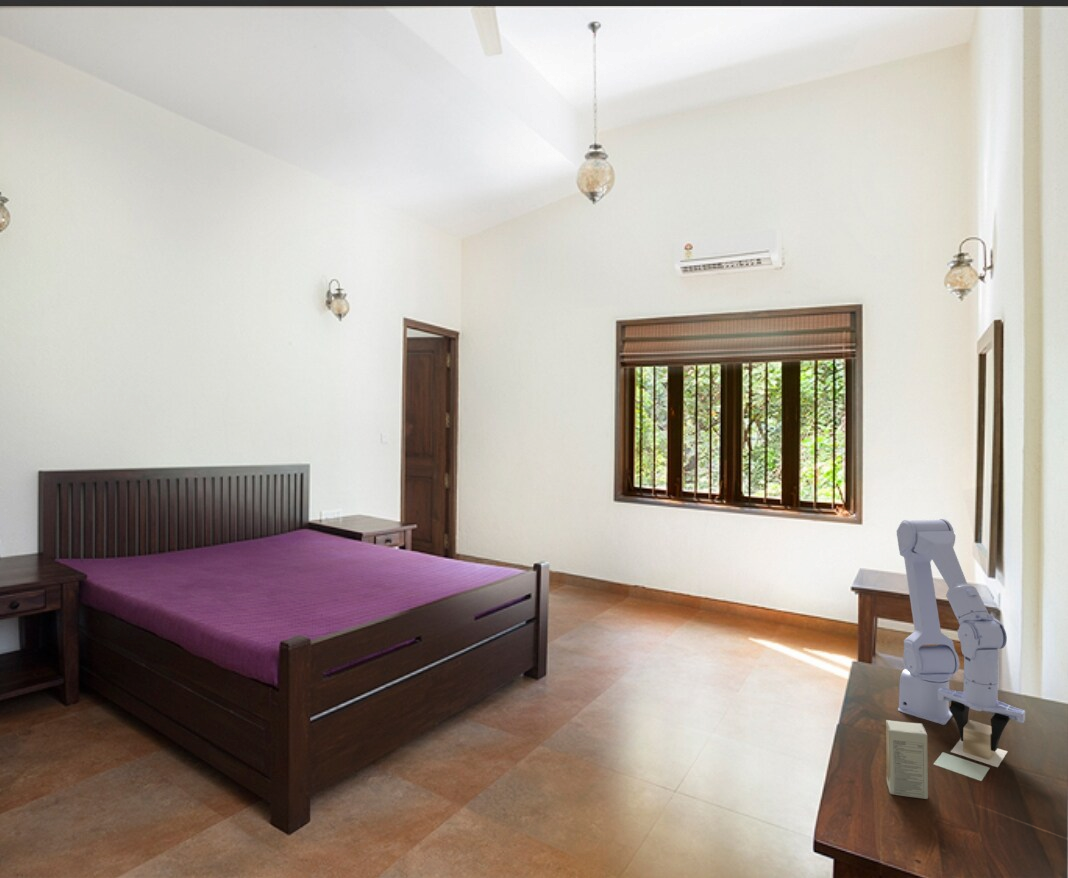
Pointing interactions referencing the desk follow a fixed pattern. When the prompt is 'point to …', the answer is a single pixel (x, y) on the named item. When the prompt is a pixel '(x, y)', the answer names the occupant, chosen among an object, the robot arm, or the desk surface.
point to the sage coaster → (961, 766)
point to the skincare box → (906, 759)
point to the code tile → (993, 761)
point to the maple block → (977, 739)
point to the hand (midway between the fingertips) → (979, 744)
